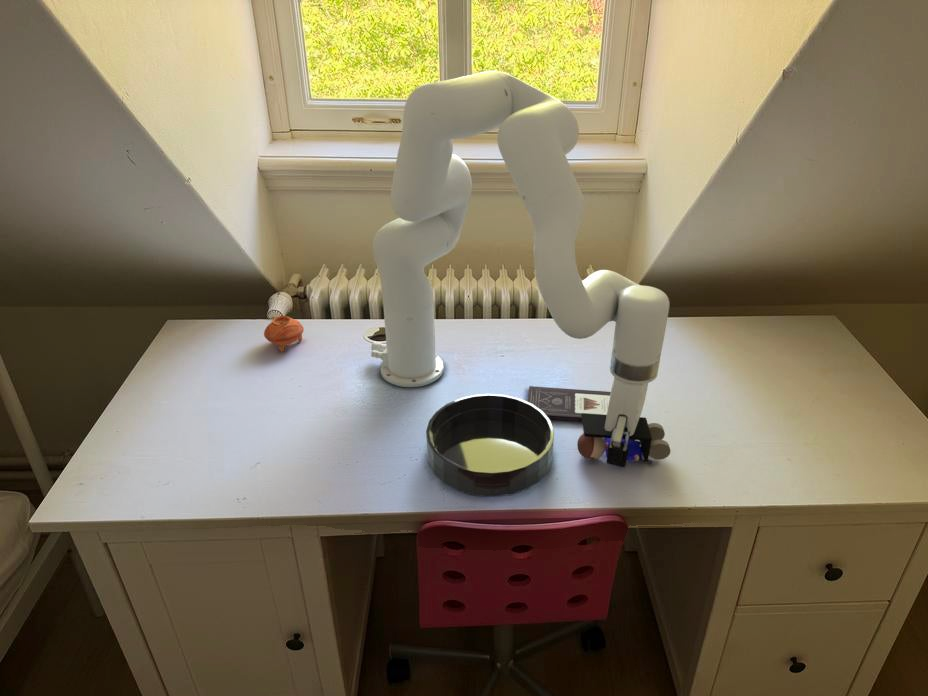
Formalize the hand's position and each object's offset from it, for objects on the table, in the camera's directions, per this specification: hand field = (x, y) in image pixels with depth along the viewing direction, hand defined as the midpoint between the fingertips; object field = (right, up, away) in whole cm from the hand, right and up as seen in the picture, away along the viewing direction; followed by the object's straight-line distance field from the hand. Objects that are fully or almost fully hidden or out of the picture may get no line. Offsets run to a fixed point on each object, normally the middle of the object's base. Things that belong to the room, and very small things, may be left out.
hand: (621, 449), depth 118 cm
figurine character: (0, -1, +1) cm, 2 cm away
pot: (-67, +19, +28) cm, 75 cm away
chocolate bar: (-7, +7, +12) cm, 16 cm away
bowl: (-23, -1, 0) cm, 23 cm away
